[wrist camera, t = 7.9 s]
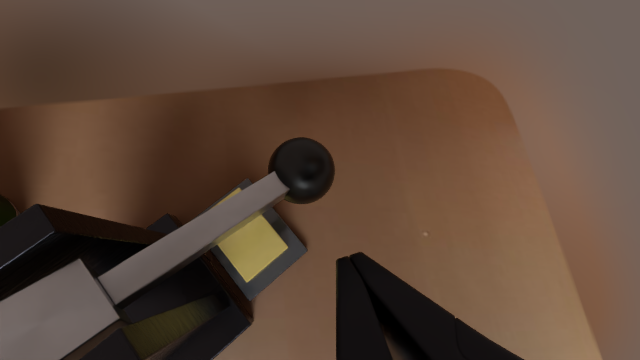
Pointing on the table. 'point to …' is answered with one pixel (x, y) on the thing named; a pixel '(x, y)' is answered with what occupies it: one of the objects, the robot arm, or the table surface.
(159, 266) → the arm
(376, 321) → the robot arm
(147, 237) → the cutter
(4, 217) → the beer can
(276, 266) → the butter dish
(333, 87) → the table surface
